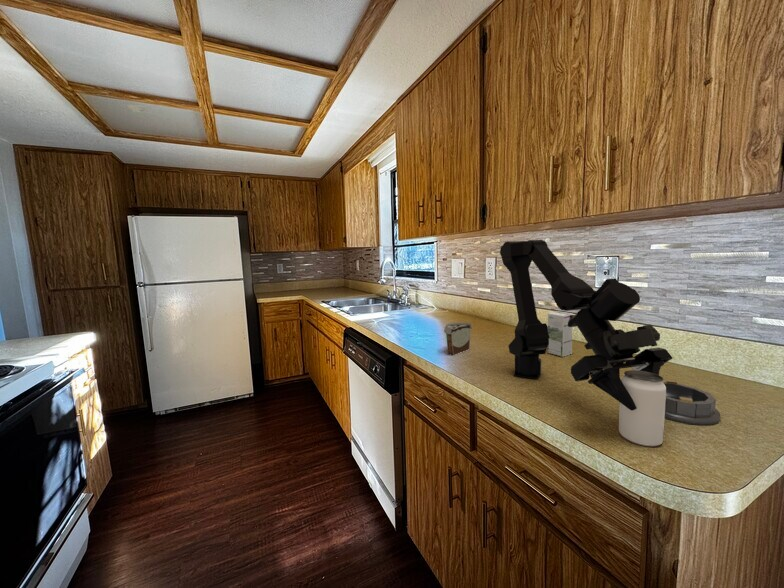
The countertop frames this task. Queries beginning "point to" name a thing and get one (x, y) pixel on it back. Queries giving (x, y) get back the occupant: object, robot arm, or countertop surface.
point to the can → (643, 408)
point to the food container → (458, 337)
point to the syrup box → (559, 334)
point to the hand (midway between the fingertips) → (649, 407)
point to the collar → (689, 405)
